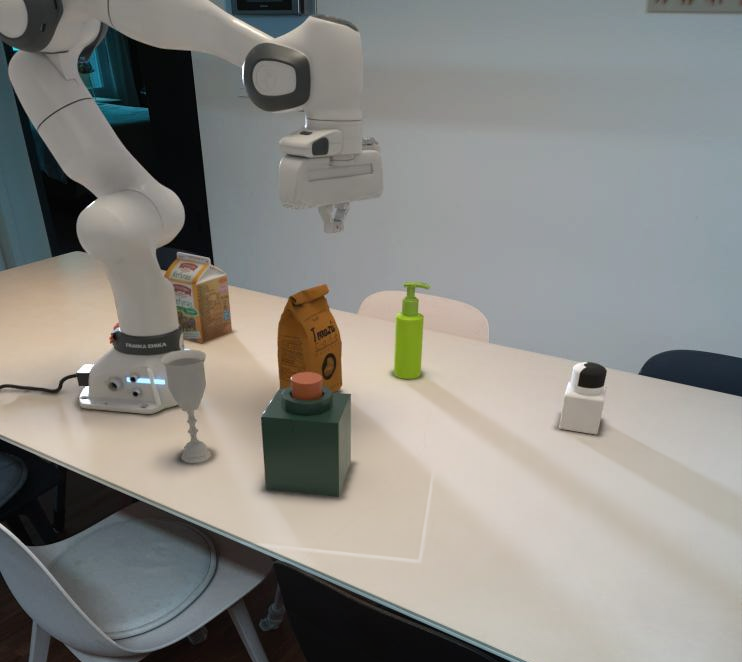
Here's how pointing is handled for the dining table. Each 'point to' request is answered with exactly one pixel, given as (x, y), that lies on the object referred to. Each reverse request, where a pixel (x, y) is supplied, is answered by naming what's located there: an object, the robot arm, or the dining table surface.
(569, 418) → the medicine bottle
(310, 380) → the red push button
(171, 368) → the chalice
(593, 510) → the dining table surface
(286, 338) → the coffee package
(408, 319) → the soap dispenser
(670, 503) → the dining table surface
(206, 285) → the milk carton
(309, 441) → the push button housing
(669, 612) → the dining table surface
